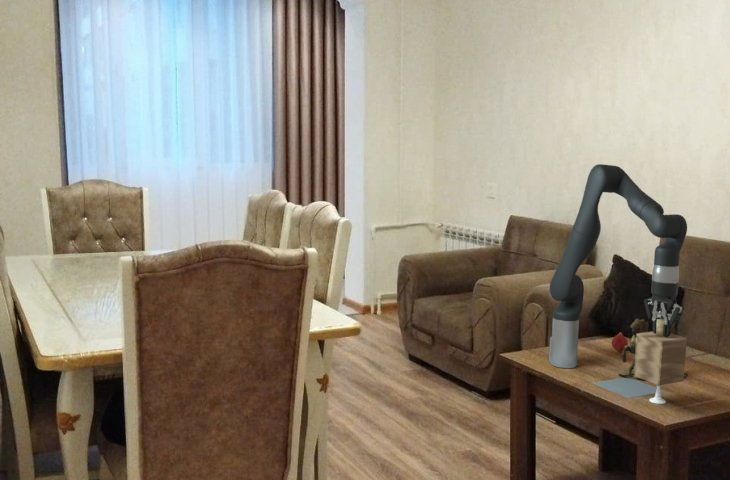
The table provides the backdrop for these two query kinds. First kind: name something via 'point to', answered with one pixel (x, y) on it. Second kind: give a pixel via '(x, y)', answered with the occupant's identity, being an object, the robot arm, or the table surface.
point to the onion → (619, 342)
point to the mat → (627, 387)
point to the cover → (660, 356)
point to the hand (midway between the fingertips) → (661, 334)
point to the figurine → (637, 327)
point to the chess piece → (657, 396)
